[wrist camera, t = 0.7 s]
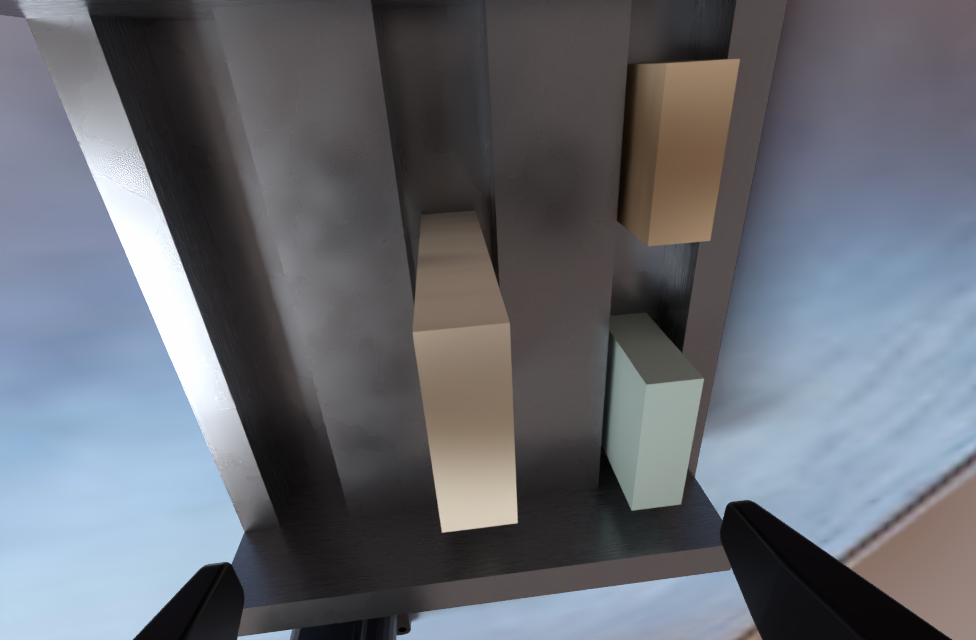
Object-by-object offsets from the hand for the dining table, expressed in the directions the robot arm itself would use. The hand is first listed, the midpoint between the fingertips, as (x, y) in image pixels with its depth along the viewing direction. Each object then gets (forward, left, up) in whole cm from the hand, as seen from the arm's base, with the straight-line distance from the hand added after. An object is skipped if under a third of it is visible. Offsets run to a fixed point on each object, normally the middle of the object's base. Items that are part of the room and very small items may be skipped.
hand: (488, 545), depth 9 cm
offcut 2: (-5, -7, -12) cm, 15 cm away
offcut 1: (+5, -7, -12) cm, 15 cm away
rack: (0, 0, -13) cm, 13 cm away
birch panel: (0, 0, -12) cm, 12 cm away
